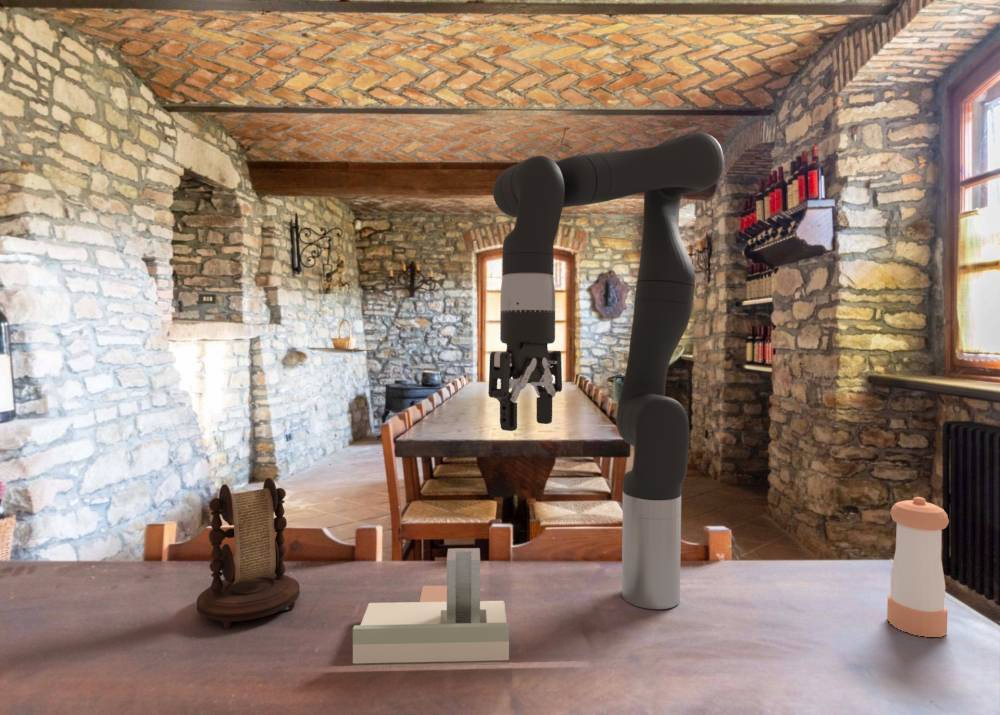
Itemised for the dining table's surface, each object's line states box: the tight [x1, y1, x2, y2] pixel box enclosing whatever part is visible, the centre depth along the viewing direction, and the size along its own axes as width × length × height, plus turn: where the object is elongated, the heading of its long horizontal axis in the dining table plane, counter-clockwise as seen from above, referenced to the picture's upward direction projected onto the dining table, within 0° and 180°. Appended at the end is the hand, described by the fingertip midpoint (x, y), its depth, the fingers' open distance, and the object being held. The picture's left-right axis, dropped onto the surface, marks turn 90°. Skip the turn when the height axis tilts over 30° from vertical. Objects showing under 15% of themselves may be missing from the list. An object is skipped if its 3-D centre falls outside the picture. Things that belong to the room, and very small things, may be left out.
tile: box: [419, 585, 447, 602], centre depth 96 cm, size 8×8×1 cm
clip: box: [446, 547, 481, 624], centre depth 82 cm, size 4×4×12 cm
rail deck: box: [352, 600, 510, 669], centre depth 82 cm, size 12×20×5 cm, turn 93°
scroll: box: [196, 477, 301, 630], centre depth 92 cm, size 15×15×20 cm
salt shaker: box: [886, 496, 950, 638], centre depth 87 cm, size 7×7×19 cm
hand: (527, 426), depth 82 cm, fingers open, 8 cm apart
